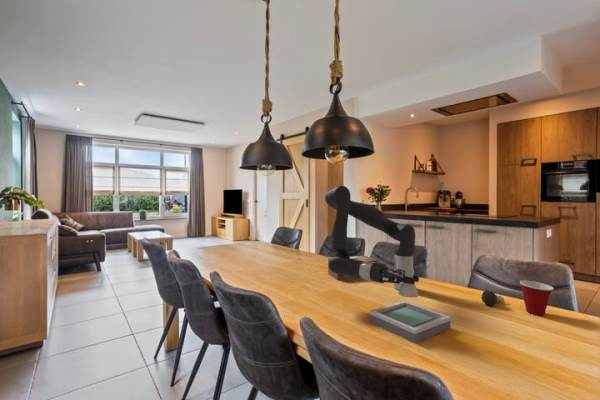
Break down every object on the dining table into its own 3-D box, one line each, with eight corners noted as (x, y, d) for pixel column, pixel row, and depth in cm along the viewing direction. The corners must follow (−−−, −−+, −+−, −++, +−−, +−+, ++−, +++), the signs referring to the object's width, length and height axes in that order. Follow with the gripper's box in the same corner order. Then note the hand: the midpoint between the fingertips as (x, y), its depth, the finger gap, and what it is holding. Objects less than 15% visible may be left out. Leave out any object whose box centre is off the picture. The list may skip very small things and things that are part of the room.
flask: (420, 299, 106) (421, 270, 106) (399, 297, 107) (399, 269, 107) (416, 292, 113) (417, 266, 113) (396, 291, 114) (397, 265, 114)
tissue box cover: (365, 271, 191) (365, 255, 191) (377, 277, 177) (377, 260, 177) (328, 274, 184) (328, 258, 184) (337, 280, 170) (337, 263, 170)
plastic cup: (556, 321, 113) (556, 289, 113) (521, 315, 118) (521, 285, 118) (550, 311, 122) (550, 282, 122) (518, 306, 128) (518, 278, 128)
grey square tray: (404, 310, 124) (404, 300, 124) (450, 328, 107) (450, 316, 107) (369, 321, 113) (369, 310, 113) (415, 343, 96) (415, 330, 96)
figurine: (506, 291, 136) (498, 292, 126) (506, 306, 135) (497, 308, 125) (486, 288, 141) (477, 288, 131) (486, 302, 141) (476, 303, 130)
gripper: (364, 265, 114) (408, 273, 103) (381, 259, 125) (423, 266, 113) (364, 284, 114) (408, 295, 103) (381, 277, 125) (423, 286, 113)
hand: (416, 280), depth 108 cm, fingers closed on flask, 3 cm apart
